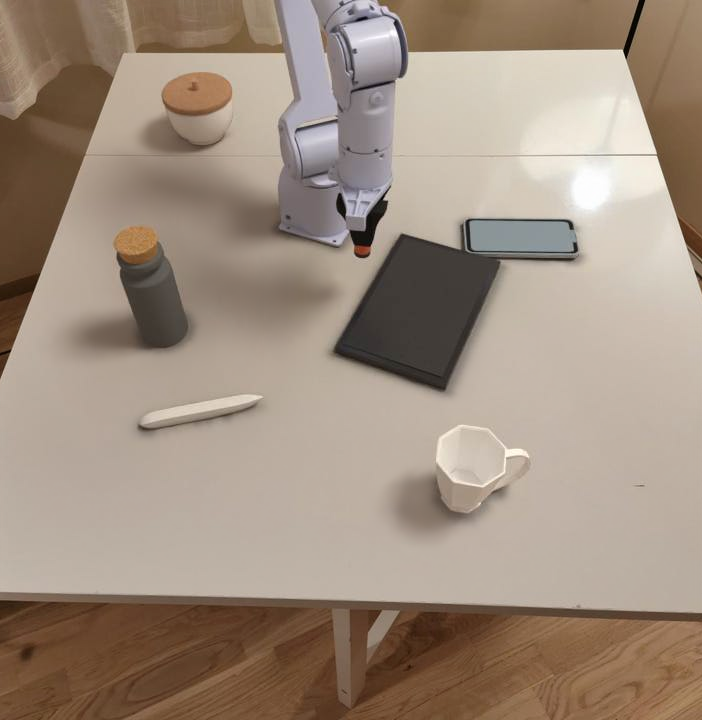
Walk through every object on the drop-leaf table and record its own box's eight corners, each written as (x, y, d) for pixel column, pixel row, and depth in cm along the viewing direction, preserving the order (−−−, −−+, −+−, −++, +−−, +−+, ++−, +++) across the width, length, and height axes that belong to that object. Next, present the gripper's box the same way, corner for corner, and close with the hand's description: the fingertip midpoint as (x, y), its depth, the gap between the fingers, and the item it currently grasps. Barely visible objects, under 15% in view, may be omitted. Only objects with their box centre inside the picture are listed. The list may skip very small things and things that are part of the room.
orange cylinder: (352, 257, 85) (355, 205, 79) (355, 246, 87) (358, 194, 80) (368, 259, 85) (373, 207, 79) (371, 248, 86) (375, 196, 80)
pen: (265, 408, 80) (264, 400, 79) (141, 432, 79) (137, 424, 77) (263, 397, 81) (261, 389, 80) (140, 421, 80) (137, 412, 78)
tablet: (334, 353, 85) (334, 346, 84) (400, 239, 97) (401, 232, 96) (445, 391, 81) (446, 384, 80) (499, 267, 93) (501, 260, 92)
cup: (419, 470, 75) (425, 429, 68) (510, 454, 76) (524, 412, 69) (437, 531, 71) (445, 493, 64) (533, 513, 72) (550, 474, 65)
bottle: (196, 318, 89) (172, 227, 77) (175, 353, 86) (146, 263, 74) (155, 308, 90) (125, 217, 78) (132, 341, 87) (97, 251, 75)
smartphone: (463, 217, 99) (573, 218, 97) (462, 222, 99) (571, 223, 98) (465, 253, 94) (580, 255, 93) (465, 258, 95) (579, 260, 94)
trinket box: (209, 107, 118) (199, 54, 111) (251, 132, 114) (244, 78, 106) (158, 135, 114) (144, 81, 106) (200, 163, 109) (188, 108, 102)
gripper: (338, 96, 78) (340, 195, 89) (314, 177, 69) (320, 276, 80) (402, 101, 77) (396, 200, 88) (386, 184, 68) (382, 282, 79)
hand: (364, 236), depth 84 cm, fingers closed on orange cylinder, 2 cm apart
